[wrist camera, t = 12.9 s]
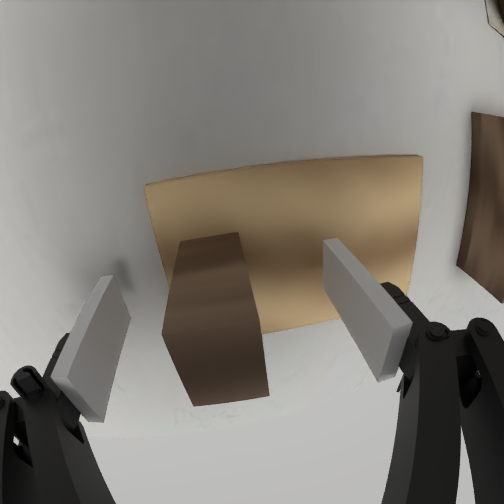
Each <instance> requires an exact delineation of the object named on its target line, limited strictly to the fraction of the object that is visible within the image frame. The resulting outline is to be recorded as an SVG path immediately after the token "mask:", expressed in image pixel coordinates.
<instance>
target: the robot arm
mask: <svg viewBox="0 0 504 504" xmlns="http://www.w3.org/2000/svg"><path fill="white" fill-rule="evenodd" d="M323 289H324V290H325V292H326V294H327V295H328V297H329V299H330V300H331V302H332V304H333V305H334V307H335V309H336V310H337V312H338V314H339V315H340V317H341V319H342V320H343V322H344V324H345V326H346V327H347V329H348V331H349V332H350V334H351V336H352V338H353V339H354V341H355V343H356V344H357V346H358V348H359V350H360V351H361V353H362V355H363V357H364V358H365V360H366V362H367V364H368V366H369V367H370V369H371V371H372V373H373V375H374V376H375V378H376V380H377V382H381V381H384V380H386V379H389V378H392V377H395V375H396V373H397V370H398V367H400V369H401V370H402V372H403V373H404V374H403V376H402V379H401V381H400V384H399V386H398V389H397V392H399V391H400V389H401V392H400V403H399V412H398V422H397V429H396V435H395V443H394V448H393V454H392V459H391V465H390V470H389V474H388V479H387V483H386V488H385V492H384V496H383V500H382V503H381V504H456V496H457V489H458V479H459V468H460V467H459V466H460V448H461V446H460V445H461V427H462V431H463V435H464V440H465V444H466V449H467V453H468V458H469V463H470V469H471V474H472V481H473V487H474V495H475V504H504V341H503V339H502V337H501V335H500V334H499V333H498V330H497V329H496V327H495V326H494V324H493V323H492V322H490V321H489V320H487V319H484V318H474V319H472V320H471V321H470V322H469V324H468V326H467V329H464V330H453V331H450V329H449V328H448V327H447V326H445V325H443V324H442V323H438V322H429V320H428V319H427V318H426V317H425V316H424V315H423V314H422V312H421V311H420V310H419V309H418V308H417V307H416V306H415V305H414V304H413V302H411V301H410V299H409V298H408V297H407V296H405V294H404V293H403V292H402V290H401V289H400V288H399V287H397V286H396V285H394V284H392V283H390V282H384V283H380V284H379V282H378V281H377V280H376V279H375V278H374V277H373V276H372V275H371V273H370V272H369V271H368V270H367V269H366V268H365V267H364V266H363V265H362V263H361V262H360V261H359V260H358V259H357V258H356V257H355V256H354V255H353V254H352V253H351V252H350V251H349V249H348V248H347V247H346V246H345V245H344V244H343V243H342V242H341V241H340V240H339V239H338V238H333V239H327V240H323ZM130 320H131V317H130V315H129V312H128V310H127V307H126V305H125V303H124V300H123V298H122V295H121V293H120V290H119V288H118V285H117V282H116V280H115V277H114V274H113V275H107V276H101V277H100V278H99V280H98V282H97V284H96V285H95V287H94V289H93V291H92V292H91V294H90V296H89V298H88V300H87V302H86V303H85V305H84V307H83V309H82V311H81V313H80V315H79V317H78V319H77V321H76V323H75V325H74V327H73V329H72V331H71V333H66V334H65V335H64V337H63V338H62V339H61V340H60V341H59V343H58V345H57V347H56V349H55V351H54V353H53V355H52V358H51V359H50V362H49V364H48V366H47V368H46V370H45V373H44V375H43V377H41V375H40V374H39V373H38V371H37V370H36V369H35V368H34V367H33V366H24V367H22V368H20V369H19V370H18V371H17V372H16V373H15V374H14V375H13V377H12V379H11V386H12V387H13V388H14V389H15V390H16V392H17V393H18V394H19V395H20V396H21V397H18V398H14V399H13V398H12V397H11V396H10V395H9V393H8V392H6V391H0V504H116V503H115V501H114V499H113V497H112V495H111V493H110V491H109V489H108V487H107V485H106V483H105V481H104V479H103V476H102V474H101V472H100V469H99V467H98V465H97V462H96V460H95V457H94V455H93V452H92V450H91V447H90V444H89V441H88V439H87V436H86V433H85V430H84V427H83V425H82V424H81V422H80V421H79V417H80V414H82V416H83V417H84V418H85V419H86V420H87V421H88V422H102V423H104V419H105V415H106V410H107V405H108V401H109V397H110V392H111V388H112V384H113V380H114V376H115V372H116V369H117V365H118V361H119V357H120V354H121V350H122V347H123V343H124V340H125V336H126V333H127V330H128V326H129V323H130ZM478 371H479V372H478ZM479 373H480V374H479ZM14 436H15V437H16V438H17V439H18V440H19V444H18V445H16V444H15V443H14V442H13V439H14Z"/></svg>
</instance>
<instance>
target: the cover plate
mask: <svg viewBox="0 0 504 504" xmlns="http://www.w3.org/2000/svg"><path fill="white" fill-rule="evenodd" d="M422 174H423V157H422V156H418V155H386V156H359V157H341V158H327V159H314V160H303V161H292V162H283V163H274V164H265V165H257V166H250V167H242V168H235V169H228V170H222V171H215V172H209V173H203V174H197V175H192V176H186V177H181V178H175V179H170V180H165V181H160V182H155V183H150V184H146V185H145V186H144V191H145V195H146V200H147V204H148V208H149V213H150V217H151V221H152V225H153V229H154V233H155V237H156V241H157V245H158V248H159V252H160V256H161V259H162V263H163V266H164V270H165V273H166V277H167V280H168V284H169V287H170V291H169V296H168V301H167V307H166V312H165V318H164V324H163V329H162V337H163V339H164V342H165V344H166V347H167V349H168V351H169V354H170V356H171V358H172V361H173V363H174V365H175V367H176V370H177V372H178V374H179V376H180V379H181V381H182V383H183V385H184V387H185V389H186V391H187V394H188V396H189V398H190V400H191V402H192V404H193V406H203V405H212V404H220V403H228V402H235V401H242V400H249V399H255V398H260V397H266V396H269V388H268V381H267V373H266V365H265V357H264V350H263V342H262V334H265V333H271V332H276V331H281V330H287V329H292V328H297V327H301V326H306V325H311V324H315V323H320V322H324V321H329V320H333V319H337V318H341V317H340V315H339V314H338V312H337V310H336V309H335V307H334V305H333V304H332V302H331V300H330V299H329V297H328V295H327V294H326V292H325V290H324V289H323V240H327V239H333V238H338V239H339V240H340V241H341V242H342V243H343V244H344V245H345V246H346V247H347V248H348V249H349V251H350V252H351V253H352V254H353V255H354V256H355V257H356V258H357V259H358V260H359V261H360V262H361V263H362V265H363V266H364V267H365V268H366V269H367V270H368V271H369V272H370V273H371V275H372V276H373V277H374V278H375V279H376V280H377V281H378V282H379V284H380V283H384V282H390V283H392V284H394V285H396V286H397V287H399V288H400V289H401V290H402V292H403V293H404V294H405V296H407V293H408V288H409V283H410V278H411V272H412V267H413V261H414V255H415V248H416V241H417V233H418V225H419V216H420V205H421V192H422Z"/></svg>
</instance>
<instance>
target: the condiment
mask: <svg viewBox="0 0 504 504" xmlns="http://www.w3.org/2000/svg"><path fill="white" fill-rule="evenodd" d="M485 1H486V6H487V13H488V18H489V24H490V25H491V26H492V27H494V28H495V29H496V30H497V31H498V32H499V33H500V34H502V35H503V36H504V0H485ZM498 15H499V16H498ZM500 18H501V19H500ZM501 20H502V21H501Z"/></svg>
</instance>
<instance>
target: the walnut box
mask: <svg viewBox="0 0 504 504" xmlns="http://www.w3.org/2000/svg"><path fill="white" fill-rule="evenodd" d="M457 266H458V267H459V268H461V269H462V270H463V271H464V272H466V273H467V274H468V275H469V276H470V277H472V278H473V279H474V280H475V281H476V282H478V283H479V284H480V285H481V286H482V287H483V288H485V289H486V290H487V291H488V292H489V293H490V294H492V295H493V296H494V297H495V298H496V299H497V300H498V301H499V302H500V303H504V117H499V116H493V115H488V114H482V113H475V112H472V158H471V175H470V186H469V196H468V204H467V211H466V218H465V225H464V230H463V236H462V241H461V246H460V251H459V256H458V260H457Z"/></svg>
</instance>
